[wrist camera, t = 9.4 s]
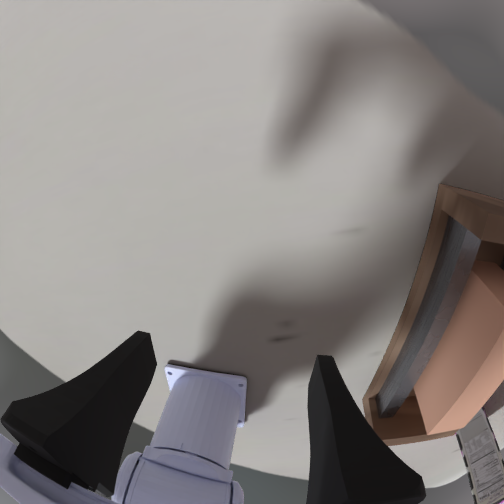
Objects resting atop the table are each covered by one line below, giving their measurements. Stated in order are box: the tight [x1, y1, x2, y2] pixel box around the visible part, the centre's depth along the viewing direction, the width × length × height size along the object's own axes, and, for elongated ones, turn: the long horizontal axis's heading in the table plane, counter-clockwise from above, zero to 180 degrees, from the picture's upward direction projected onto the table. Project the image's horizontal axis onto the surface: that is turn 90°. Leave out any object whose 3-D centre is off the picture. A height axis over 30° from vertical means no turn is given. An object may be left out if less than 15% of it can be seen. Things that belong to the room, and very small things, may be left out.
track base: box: [362, 184, 504, 446], centre depth 18 cm, size 22×10×6 cm, turn 177°
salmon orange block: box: [413, 260, 504, 435], centre depth 16 cm, size 12×4×7 cm, turn 177°
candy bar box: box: [455, 407, 504, 504], centre depth 20 cm, size 11×5×16 cm, turn 42°
